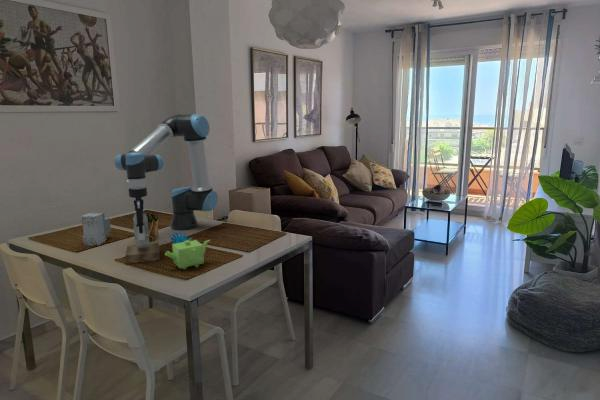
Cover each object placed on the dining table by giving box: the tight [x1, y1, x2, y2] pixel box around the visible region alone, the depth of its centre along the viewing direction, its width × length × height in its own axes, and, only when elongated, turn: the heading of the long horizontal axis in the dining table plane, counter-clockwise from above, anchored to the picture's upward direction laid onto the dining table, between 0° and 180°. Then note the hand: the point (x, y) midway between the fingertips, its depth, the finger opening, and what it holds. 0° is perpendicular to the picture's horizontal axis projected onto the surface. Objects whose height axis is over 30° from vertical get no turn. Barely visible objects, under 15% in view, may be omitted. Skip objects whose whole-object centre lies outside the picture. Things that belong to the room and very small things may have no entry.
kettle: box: [164, 239, 211, 270], centre depth 176 cm, size 15×14×11 cm
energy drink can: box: [132, 212, 150, 248], centre depth 185 cm, size 6×6×15 cm
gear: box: [170, 231, 192, 244], centre depth 201 cm, size 11×6×10 cm
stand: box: [125, 242, 161, 265], centre depth 187 cm, size 14×14×4 cm
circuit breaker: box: [80, 212, 112, 246], centre depth 211 cm, size 8×14×15 cm, turn 174°
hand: (141, 237), depth 186 cm, fingers closed on energy drink can, 6 cm apart
